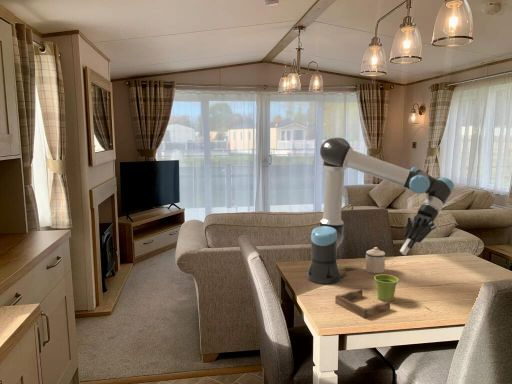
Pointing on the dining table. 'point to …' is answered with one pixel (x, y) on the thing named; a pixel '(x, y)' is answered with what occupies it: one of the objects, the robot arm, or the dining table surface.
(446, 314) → the dining table surface
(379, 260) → the teacup with lid
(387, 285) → the plant pot
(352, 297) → the walnut bay
